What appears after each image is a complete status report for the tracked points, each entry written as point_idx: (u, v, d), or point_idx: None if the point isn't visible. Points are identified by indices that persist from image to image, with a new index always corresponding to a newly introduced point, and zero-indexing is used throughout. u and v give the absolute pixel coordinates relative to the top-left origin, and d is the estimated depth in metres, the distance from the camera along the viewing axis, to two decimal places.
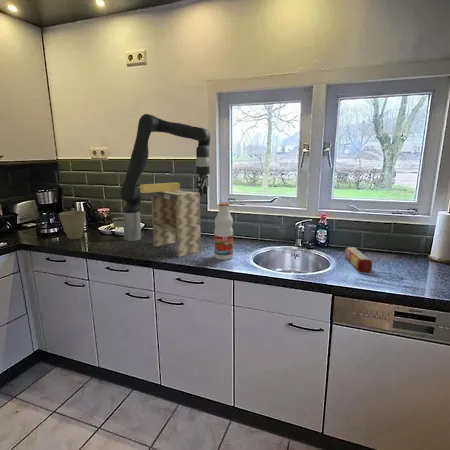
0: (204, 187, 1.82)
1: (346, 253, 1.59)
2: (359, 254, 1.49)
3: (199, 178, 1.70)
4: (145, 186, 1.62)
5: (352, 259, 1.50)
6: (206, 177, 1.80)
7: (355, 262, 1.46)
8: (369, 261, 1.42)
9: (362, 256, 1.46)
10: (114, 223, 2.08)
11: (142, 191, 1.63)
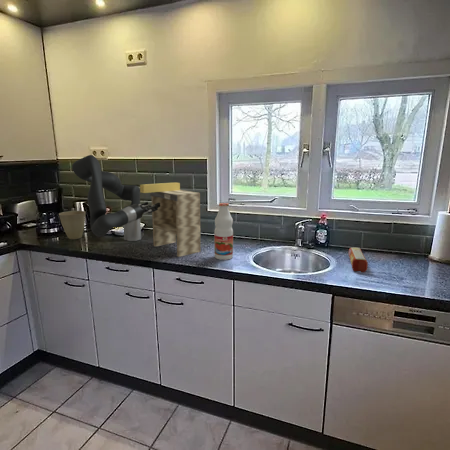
0: None
1: (349, 253, 1.60)
2: (357, 254, 1.49)
3: None
4: (145, 186, 1.62)
5: (350, 258, 1.51)
6: (145, 212, 1.55)
7: (351, 261, 1.47)
8: (364, 261, 1.42)
9: (359, 256, 1.46)
10: None
11: (142, 191, 1.63)
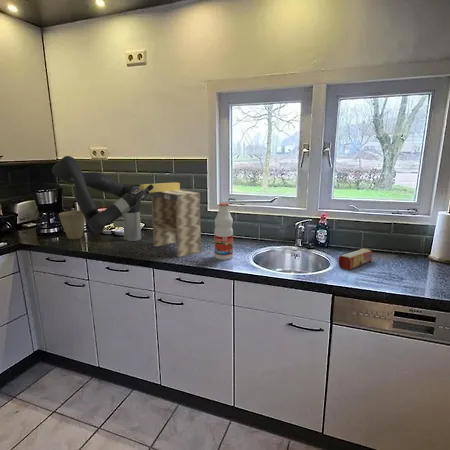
0: None
1: None
2: (352, 253, 1.50)
3: None
4: (145, 186, 1.62)
5: None
6: (140, 198, 1.60)
7: None
8: (348, 259, 1.45)
9: (349, 254, 1.48)
10: (114, 223, 2.08)
11: None
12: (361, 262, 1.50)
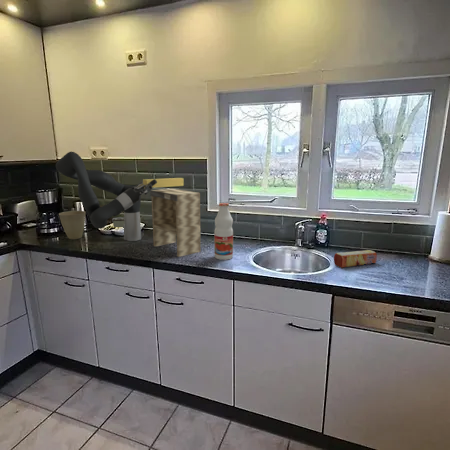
0: None
1: None
2: (350, 252, 1.52)
3: None
4: (148, 181, 1.59)
5: None
6: (143, 193, 1.56)
7: None
8: (340, 257, 1.48)
9: (345, 253, 1.50)
10: (114, 223, 2.08)
11: None
12: (359, 262, 1.50)
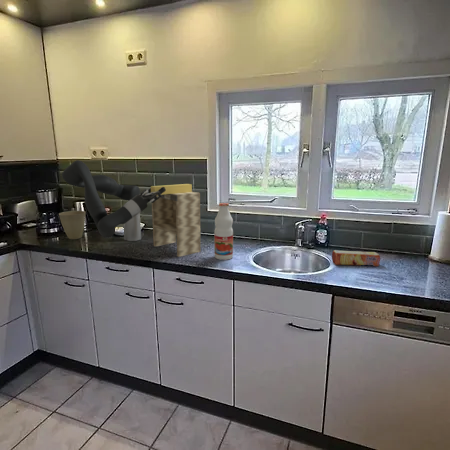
0: None
1: None
2: (349, 251, 1.53)
3: None
4: (156, 188, 1.54)
5: None
6: (150, 201, 1.51)
7: None
8: (335, 254, 1.52)
9: (342, 251, 1.53)
10: None
11: None
12: (356, 262, 1.50)
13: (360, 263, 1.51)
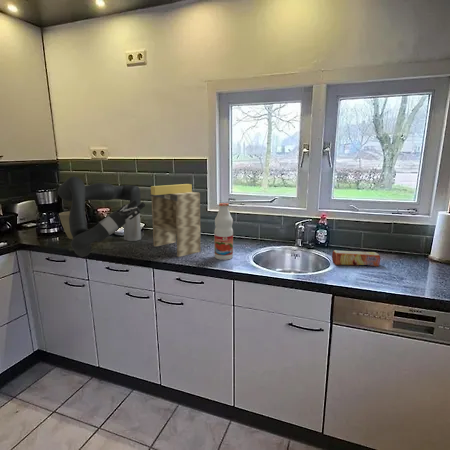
0: None
1: None
2: (349, 251, 1.53)
3: None
4: (156, 188, 1.54)
5: None
6: None
7: None
8: (335, 254, 1.52)
9: (342, 251, 1.53)
10: None
11: (153, 193, 1.55)
12: (356, 262, 1.50)
13: (360, 263, 1.50)
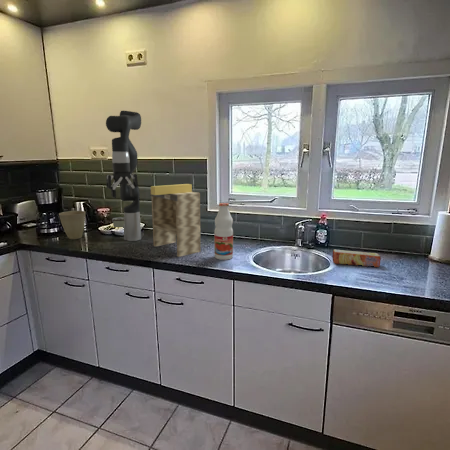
0: (130, 188, 1.50)
1: None
2: (349, 251, 1.53)
3: (107, 176, 1.41)
4: (156, 188, 1.54)
5: None
6: (130, 176, 1.48)
7: None
8: (334, 253, 1.54)
9: (342, 250, 1.54)
10: (114, 223, 2.08)
11: (153, 193, 1.55)
12: (355, 262, 1.51)
13: (359, 263, 1.50)
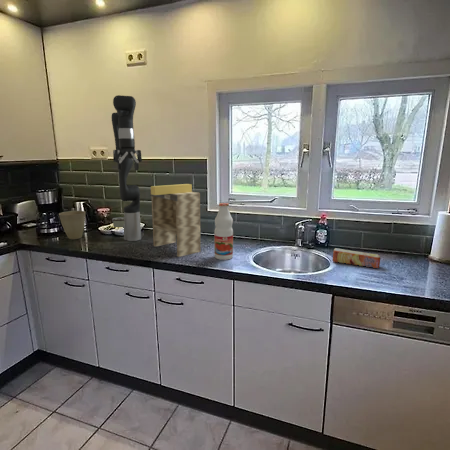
0: (135, 163, 1.64)
1: None
2: (349, 250, 1.54)
3: (114, 151, 1.56)
4: (156, 188, 1.54)
5: None
6: (134, 151, 1.62)
7: None
8: (333, 251, 1.56)
9: (342, 249, 1.55)
10: (114, 223, 2.08)
11: (153, 193, 1.55)
12: (353, 261, 1.51)
13: (358, 263, 1.50)
